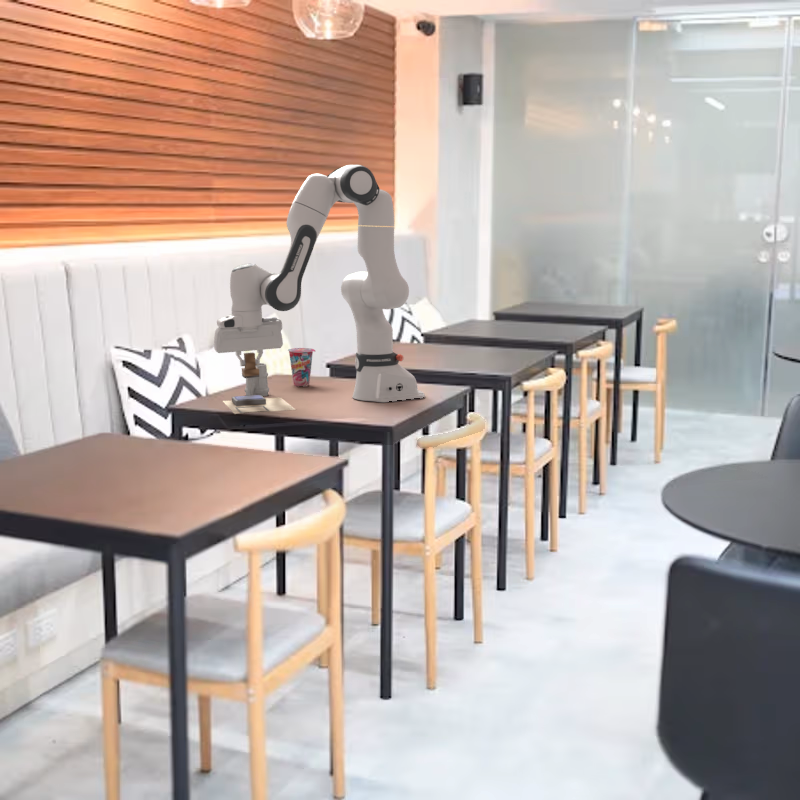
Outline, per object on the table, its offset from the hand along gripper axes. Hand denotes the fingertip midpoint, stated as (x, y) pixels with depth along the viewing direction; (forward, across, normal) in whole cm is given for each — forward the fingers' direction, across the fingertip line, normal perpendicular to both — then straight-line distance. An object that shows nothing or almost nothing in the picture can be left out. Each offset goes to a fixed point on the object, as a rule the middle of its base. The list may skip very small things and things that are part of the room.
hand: (249, 365), depth 332 cm
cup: (+14, -23, -31) cm, 41 cm away
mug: (+13, -4, -16) cm, 21 cm away
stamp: (+3, 0, 0) cm, 3 cm away
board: (+12, -1, +5) cm, 13 cm away
